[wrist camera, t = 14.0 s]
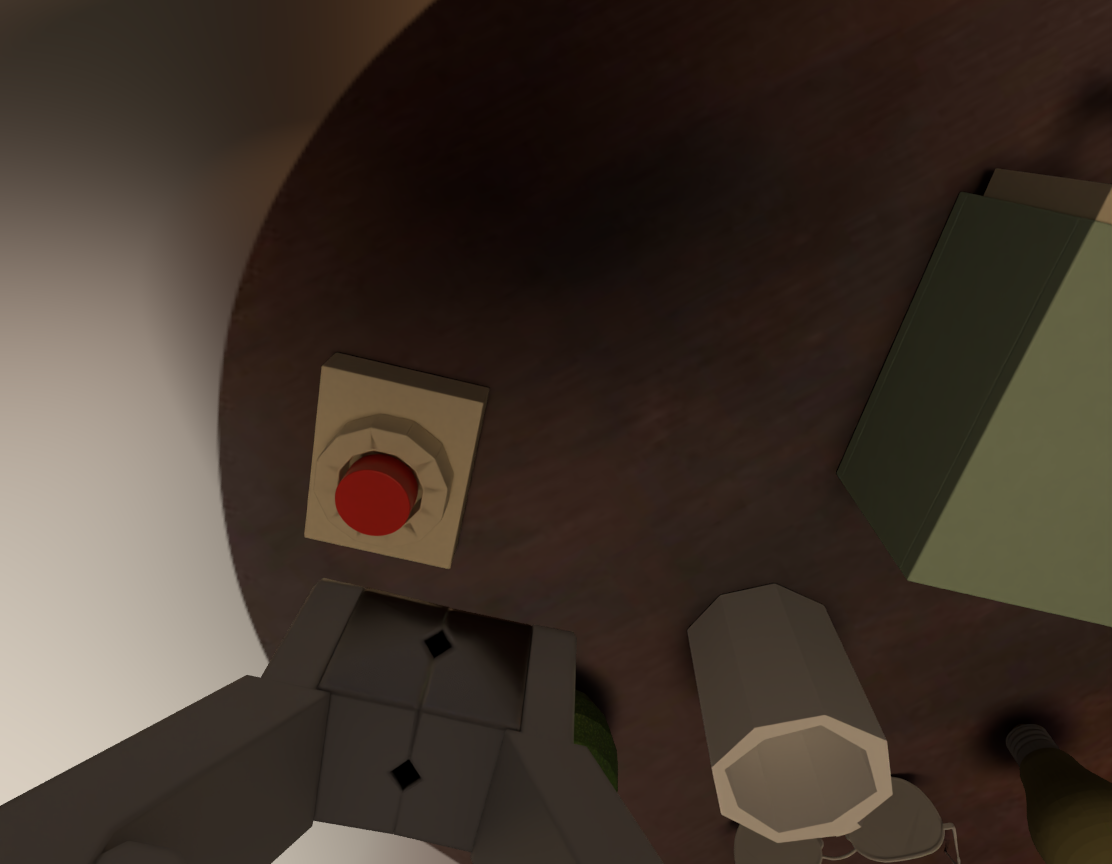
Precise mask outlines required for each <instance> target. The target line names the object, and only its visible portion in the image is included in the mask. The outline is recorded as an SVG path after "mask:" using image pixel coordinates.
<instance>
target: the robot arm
mask: <svg viewBox="0 0 1112 864" xmlns="http://www.w3.org/2000/svg"><path fill="white" fill-rule="evenodd" d="M576 642H577V638H576V636H575V634H574V632H570V631H565V630H560V629H555V628H550V627H544V626H539V625H534V624H533V625H532V626H531V625H529V624H524V623H519V622H514V621H510V620H505V619H500V618H496V617H491V616H486V615H481V614H477V613H472V612H467V611H463V610H458V609H453V608H450V607H446V606H442V605H437V604H433V603H429V602H425V601H421V600H417V599H413V598H409V597H404V596H400V595H396V594H392V593H388V592H384V591H380V590H376V589H371V588H366V589H365V588H363V587H361V586H356V585H352V584H348V583H344V582H339V581H335V580H331V579H327V578H322V579H321V580H320V581H319V582H317V583H316V584H315V585H314V587H313V588H312V590H311V592H310V594H309V595H308V597H307V599H306V601H305V602H304V604H303V606H302V607H301V609H300V611H299V613H298V614H297V616H296V618H295V619H294V621H293V623H292V625H291V626H290V628H289V630H288V632H287V633H286V635H285V637H284V638H283V640H282V642H281V644H280V645H279V647H278V649H277V650H276V652H275V654H274V656H273V657H272V659H271V661H270V663H269V664H268V666H267V668H266V669H265V671H264V673H263V675H262V676H261V678H259V677H254V676H249V675H246V676H244V677H242V678H240V679H238V680H236V681H235V682H233V683H231V684H229V685H227V686H225V687H223V688H221V689H219V690H217V691H216V692H214V693H212V694H210V695H208V696H206V697H204V698H202V699H201V700H199V701H197V702H195V703H193V704H191V705H189V706H187V707H185V708H184V709H182V710H180V711H178V712H176V713H174V714H172V715H170V716H169V717H167V718H165V719H163V720H161V721H159V722H157V723H155V724H153V725H152V726H150V727H148V728H146V729H144V730H142V731H140V732H138V733H137V734H135V735H133V736H131V737H129V738H127V739H125V740H123V741H121V742H120V743H118V744H116V745H114V746H112V747H110V748H108V749H106V750H104V751H103V752H101V753H99V754H97V755H95V756H93V757H91V758H89V759H88V760H86V761H84V762H82V763H80V764H78V765H76V766H74V767H72V768H71V769H69V770H67V771H65V772H63V773H61V774H59V775H57V776H55V777H54V778H52V779H50V780H48V781H46V782H44V783H42V784H40V785H39V786H37V787H35V788H33V789H31V790H29V791H27V792H25V793H23V794H22V795H20V796H18V797H16V798H14V799H12V800H10V801H8V802H7V803H5V804H3V805H1V806H0V864H271V863H272V862H273V861H274V860H275V859H276V858H278V857H279V856H280V855H281V854H282V853H283V852H284V851H285V850H286V849H287V848H289V846H291V845H292V844H293V843H294V842H295V841H296V840H297V839H298V838H300V836H302V835H303V834H304V833H305V832H306V831H307V830H308V829H309V828H311V827H312V824H313V821H319V822H325V823H330V824H336V825H343V826H348V827H355V828H360V829H366V830H372V831H378V832H383V833H390V834H394V835H399V836H403V837H407V838H412V839H416V840H420V841H425V842H429V843H433V844H438V845H442V846H446V847H451V848H455V849H459V850H464V851H468V852H471V856H470V857H471V860H472V862H473V864H664V863H663V862H662V860H661V859H660V857H659V856H658V854H657V853H656V851H655V850H654V848H653V846H652V845H651V843H650V842H649V840H648V839H647V837H646V836H645V834H644V833H643V831H642V830H641V828H640V827H639V825H638V824H637V822H636V821H635V819H634V818H633V816H632V815H631V813H630V811H629V810H628V808H627V807H626V805H625V804H624V802H623V801H622V799H621V798H620V796H619V795H618V793H617V792H616V790H615V789H614V787H613V786H612V784H611V783H610V781H609V780H608V778H607V776H606V775H605V773H604V772H603V770H602V769H601V767H600V766H599V764H598V763H597V761H596V760H595V758H594V757H593V755H592V754H591V752H590V751H589V749H588V748H587V747H586V746H582V745H578V744H574V711H575V676H576Z"/></svg>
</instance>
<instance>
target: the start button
mask: <svg viewBox="0 0 1112 864" xmlns="http://www.w3.org/2000/svg"><path fill="white" fill-rule="evenodd" d="M417 495H418V486H417V482H416V479H415V477H414V475H413V473H412V472H411V470H410V469H409V468H408V467H407V466H406V465H405V464H404V463H403V462H401V461H400V460H398V459H396V458H394V457H391V456H388V455H383V454H372V455H367V456H364V457H362V458H360V459H358V460H357V461H355V462H354V463H353V464H352V466H351V467H350V468H349V470H348V471H347V473H346V474H345V475H344V477H343V478H342V480H341V481H340V483H339V484H338V486H337V489H336V492H335V505H336V509H337V511H338V513H339V515H340V517H341V518H342V519H343V521H344V522H345V523H346V524H347V525H348V526H350V527H351V528H352V529H354V530H356V531H358V532H360V533H362V534H366V535H370V536H384V535H388V534H391V533H393V532H395V531H397V530H399V529H400V528H401V527H402V526H403V525H404V524H405V522H406V521H407V519H408V517H409V515H410V513H411V510H412V508H413V506H414V504H415V502H416V499H417Z"/></svg>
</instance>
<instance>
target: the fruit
mask: <svg viewBox="0 0 1112 864" xmlns="http://www.w3.org/2000/svg"><path fill="white" fill-rule="evenodd" d="M574 744H578V745H582V746H586V747H587V748H588V749H589V751H590V752H591V754H592V755H593V757H594V758H595V760H596V761H597V763H598V764H599V766H600V767H601V769H602V770H603V772H604V773H605V775H606V776H607V778H608V780H609V781H610V783H611V784H612V786H613V787H614V789H615V790H616V792H617V791H618V761H617V750H616V747H615V744H614V741H613V738H612V735H611V732H610V729H609V726H608V724H607V721H606V718H605V716H604V715H603V713H602V712H601V711H600V710H599V709H598V708H597V707H596V705H595V704H594V703H593V702H592V701H591V700H590V698H589V697H588V696H587V695H586V694H585V693H583V692H580V691H578V690H575V711H574Z"/></svg>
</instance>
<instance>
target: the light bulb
mask: <svg viewBox="0 0 1112 864" xmlns="http://www.w3.org/2000/svg"><path fill="white" fill-rule="evenodd" d="M1006 746H1007V748H1008V749H1009V751H1010V752H1011V754H1012V756H1013V757H1014V759H1015V760H1016V762H1017V764H1018V765H1019V767H1020V777H1021V781H1022V783H1023V786H1024V788H1025V793H1026V800H1027V820H1028V826H1029V831H1030V834H1031V837H1032V840H1033V843H1034V845H1035V847H1036V849H1037V851H1038V852H1039V854H1040V855H1041V857H1042V858H1043V860H1044V861H1045V862H1046V864H1112V783H1110V782H1109V781H1107V780H1105V779H1103V778H1101V777H1099V776H1097V775H1096V774H1094V773H1092V772H1090V771H1089V770H1087V769H1086V768H1084V767H1083V766H1082V765H1080V764H1079V763H1078V762H1077V761H1076V760H1075V759H1074V758H1073V757H1072V756H1070V755H1069V754H1067V753H1066V752H1064V751H1062V750H1060V749H1059V747H1058V746H1057V745H1056V744H1055V742H1054V741H1053V740H1052V738H1051V737H1050V735H1049V734H1048V733H1047V731H1046V730H1045V729H1044V728H1043V727H1041V726H1039V725H1036V724H1019V725H1016V726H1015V727H1014V728H1013V729H1012V731H1011V732H1010V733H1009V734H1008V735H1007V737H1006Z"/></svg>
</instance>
